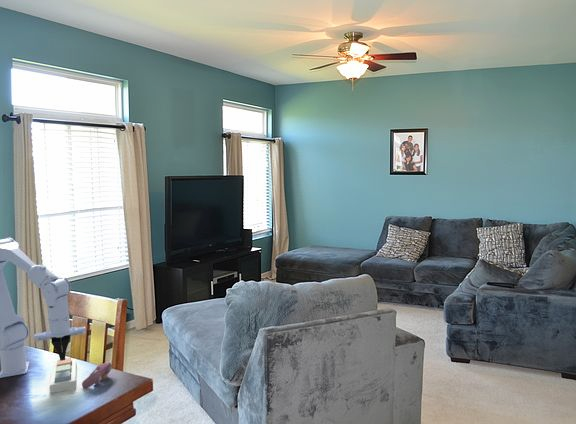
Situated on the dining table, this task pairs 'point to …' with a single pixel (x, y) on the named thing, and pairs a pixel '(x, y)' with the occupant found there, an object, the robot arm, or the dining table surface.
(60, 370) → the sage key
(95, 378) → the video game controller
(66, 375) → the slate key
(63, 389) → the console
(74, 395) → the dining table surface
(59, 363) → the terracotta key
